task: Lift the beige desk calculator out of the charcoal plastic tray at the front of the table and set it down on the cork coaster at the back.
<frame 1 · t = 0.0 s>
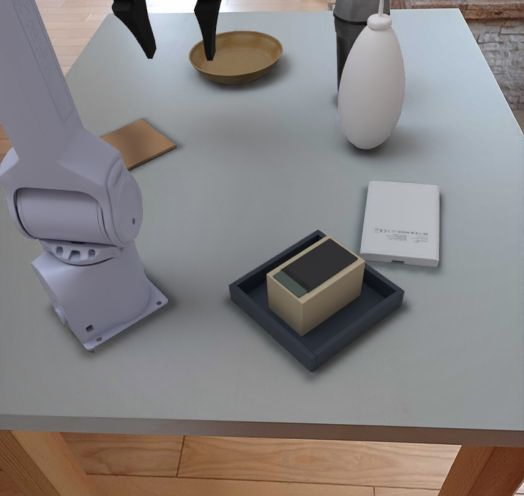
hand: (181, 54, 64), 11 cm above the table, tool pointing down, fingers open, 7 cm apart
coaster: (131, 146, 72), on the table
hard drive: (399, 229, 59), on the table
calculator: (314, 301, 53), resting on tray
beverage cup: (353, 101, 76), on the table
sauce bottle: (364, 146, 69), on the table
plant saucer: (237, 69, 84), on the table
tray: (314, 304, 53), on the table
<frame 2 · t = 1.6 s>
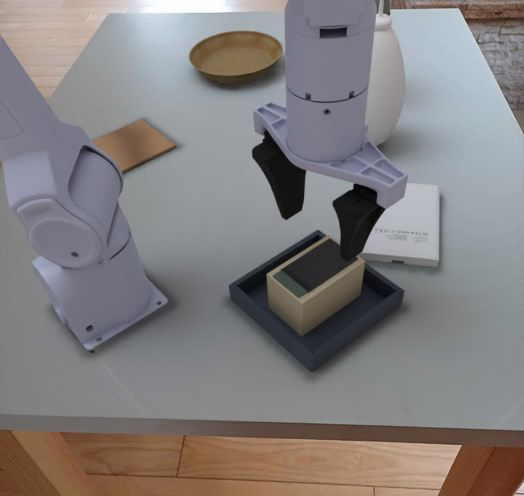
hand: (320, 233, 47), 8 cm above the table, tool pointing down, fingers open, 7 cm apart
nothing on the table moved.
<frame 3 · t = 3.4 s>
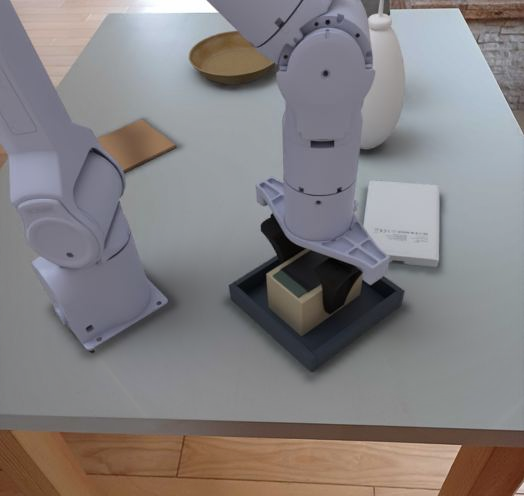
hand: (315, 292, 51), 2 cm above the table, tool pointing down, fingers closed on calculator, 5 cm apart
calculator: (314, 301, 53), resting on tray, touching gripper
everything else where it was.
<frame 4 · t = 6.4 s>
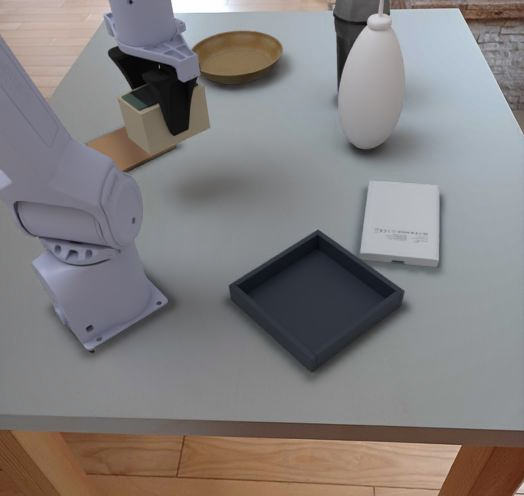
hand: (166, 121, 58), 9 cm above the table, tool pointing down, fingers closed on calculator, 5 cm apart
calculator: (169, 132, 60), point 8 cm above the table, touching gripper
everything else where it was.
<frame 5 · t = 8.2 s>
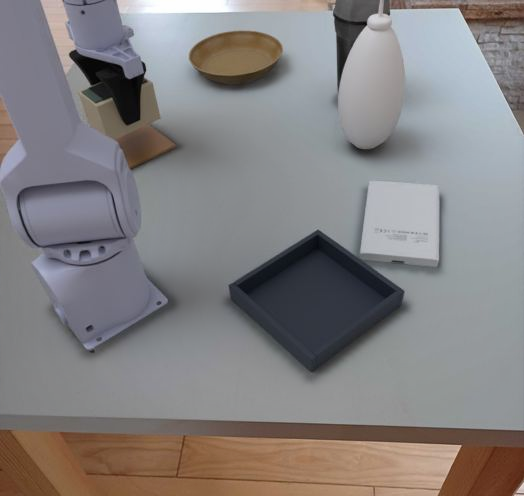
hand: (121, 113, 68), 5 cm above the table, tool pointing down, fingers closed on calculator, 5 cm apart
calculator: (125, 123, 69), point 3 cm above the table, touching gripper
everything else where it was.
when the fingers open (2 cm above the table, at t = 9.6 s): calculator stays where it is, resting on coaster.
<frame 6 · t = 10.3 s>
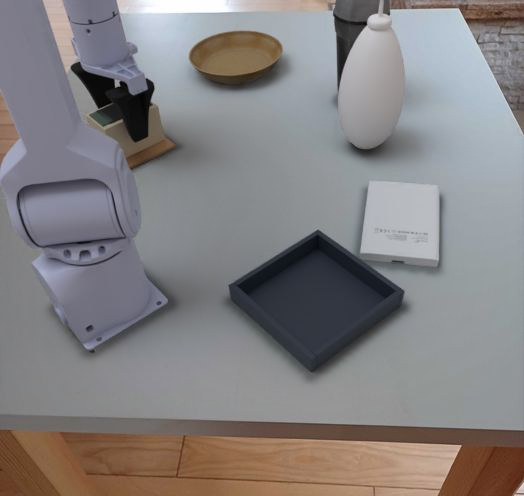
hand: (125, 127, 69), 3 cm above the table, tool pointing down, fingers open, 7 cm apart
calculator: (131, 143, 72), resting on coaster
everything else where it was.
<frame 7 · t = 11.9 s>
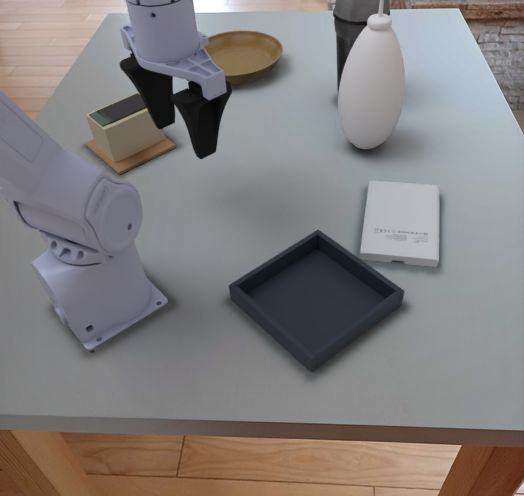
hand: (185, 139, 55), 9 cm above the table, tool pointing down, fingers open, 7 cm apart
nothing on the table moved.
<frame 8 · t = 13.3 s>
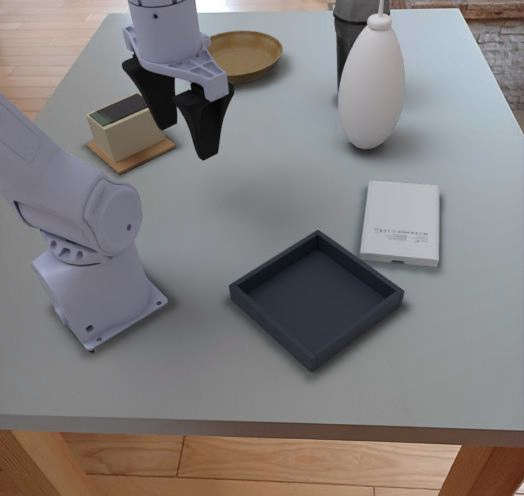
hand: (187, 140, 55), 9 cm above the table, tool pointing down, fingers open, 7 cm apart
nothing on the table moved.
at the end: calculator inside the target area on the coaster (0.2 cm from its centre), point 0.4 cm above the coaster's base; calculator tilted 0°; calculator touching coaster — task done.
